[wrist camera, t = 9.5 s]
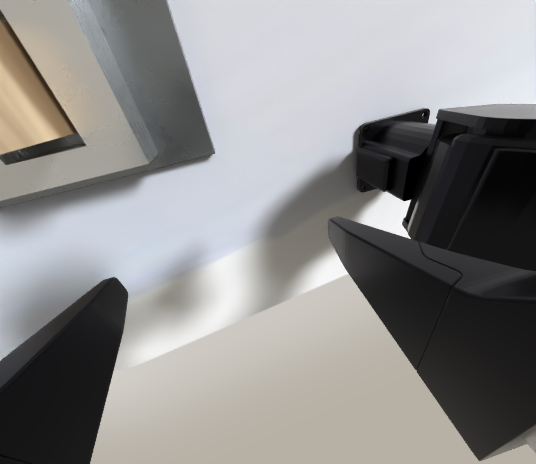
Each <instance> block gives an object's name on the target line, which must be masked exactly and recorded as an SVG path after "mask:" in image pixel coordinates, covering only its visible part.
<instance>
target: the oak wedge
mask: <svg viewBox="0 0 536 464" xmlns="http://www.w3.org/2000/svg"><path fill="white" fill-rule="evenodd" d="M75 133H78V132H77V130H76V128H75V127H74V125H73V124H72V122H71V121H70V119H69V117H68V116H67V114H66V113H65V111H64V109H63V108H62V106H61V105H60V103H59V102H58V100H57V98H56V97H55V95H54V94H53V92H52V90H51V89H50V87H49V86H48V84H47V83H46V81H45V79H44V78H43V76H42V75H41V73H40V71H39V70H38V68H37V67H36V65H35V64H34V62H33V60H32V59H31V57H30V56H29V54H28V52H27V51H26V49H25V48H24V46H23V45H22V43H21V41H20V40H19V38H18V37H17V35H16V33H15V32H14V30H13V29H12V27H11V26H10V24H9V23H7V22H4V21H2V20H0V155H1V154H4V153H8V152H11V151H15V150H18V149H22V148H25V147H29V146H32V145H36V144H39V143H43V142H46V141H50V140H54V139H57V138H61V137H64V136H68V135H71V134H75Z"/></svg>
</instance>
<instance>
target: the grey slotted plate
mask: <svg viewBox="0 0 536 464" xmlns="http://www.w3.org/2000/svg"><path fill="white" fill-rule="evenodd" d="M0 20H2V21H4V22H7V23H9V24H10V26H11V27H12V29H13V30H14V32H15V33H16V35H17V37H18V38H19V40H20V41H21V43H22V45H23V46H24V48H25V49H26V51H27V52H28V54H29V56H30V57H31V59H32V60H33V62H34V64H35V65H36V67H37V68H38V70H39V71H40V73H41V75H42V76H43V78H44V79H45V81H46V83H47V84H48V86H49V87H50V89H51V90H52V92H53V94H54V95H55V97H56V98H57V100H58V102H59V103H60V105H61V106H62V108H63V109H64V111H65V113H66V114H67V116H68V117H69V119H70V121H71V122H72V124H73V125H74V127H75V128H76V130H77V132H78V133H75V134H71V135H68V136H64V137H61V138H57V139H54V140H50V141H46V142H43V143H39V144H36V145H32V146H29V147H25V148H22V149H18V150H15V151H11V152H8V153H4V154H1V155H0V208H1V207H5V206H9V205H13V204H17V203H21V202H25V201H29V200H33V199H37V198H41V197H45V196H49V195H53V194H57V193H61V192H65V191H69V190H72V189H76V188H80V187H84V186H88V185H92V184H96V183H100V182H104V181H108V180H112V179H116V178H120V177H124V176H128V175H132V174H136V173H140V172H144V171H148V170H152V169H156V168H160V167H164V166H168V165H172V164H176V163H180V162H184V161H188V160H192V159H195V158H199V157H203V156H207V155H211V154H215V149H214V146H213V143H212V140H211V137H210V134H209V130H208V127H207V124H206V121H205V118H204V115H203V112H202V108H201V105H200V102H199V99H198V96H197V93H196V90H195V86H194V83H193V80H192V77H191V74H190V71H189V68H188V64H187V61H186V58H185V55H184V52H183V49H182V46H181V42H180V39H179V36H178V33H177V30H176V27H175V24H174V20H173V17H172V14H171V11H170V8H169V5H168V2H167V0H0Z"/></svg>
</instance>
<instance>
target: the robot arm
mask: <svg viewBox="0 0 536 464" xmlns="http://www.w3.org/2000/svg"><path fill="white" fill-rule="evenodd" d="M423 113H424V115H423V116H422V114H423ZM429 115H430V110H429V109H425V108H422V109H418V110H414V111H410V112H406V113H402V114H398V115H395V116H391V117H387V118H383V119H379V120H375V121H371V122H367V123H364V124H363V125H362V126H361V127H360V134H359V150H358V156H357V177H358V182H357V189H358V190H359V191H360V192H366V191H369V190H373V189H377V188H378V189H379V190H381V191H383V192H386V191H387V192H388V193H390V194H392V195H394V196H396V197H397V198H399V199H401V200H403V201H407V200H411V202H410V205H409V208H408V211H407V214H406V218H404V219H403V222H402V225H403V226H404V228H405V229H406V231H407V232H408V235H409V236H410V238H411V239H409V238H405V237H402V236H399V235H396V234H392V233H389V232H386V231H383V230H380V229H376V228H373V227H370V226H367V225H364V224H360V223H357V222H354V221H351V220H347V219H344V218H341V217H334V218H331V219H329V221H328V233H329V239H330V241H331V243H332V245H333V247H334V249H335V250H336V252H337V254H338V256H339V258H340V260H341V262H342V264H343V265H344V267H345V269H346V270H347V272H348V273H349V275H350V276H351V277H352V279H353V280H354V282H355V283H356V285H357V286H358V288H359V289H360V291H361V292H362V293H363V295H364V296H365V298H366V299H367V301H368V302H369V303H370V305H371V306H372V308H373V309H374V311H375V312H376V314H377V315H378V316H379V318H380V319H381V321H382V322H383V323H384V325H385V327H386V328H387V329H388V331H389V332H390V334H391V335H392V337H393V338H394V339H395V341H396V342H397V344H398V345H399V347H400V348H401V350H402V351H403V352H404V354H405V355H406V357H407V358H408V360H409V361H410V363H411V364H412V365H413V367H414V368H415V370H417V373H418V374H419V376H420V377H421V379H422V380H423V381H424V383H425V384H426V386H427V387H428V389H429V390H430V392H431V393H432V394H433V396H434V397H435V399H436V400H437V402H438V403H439V404H440V406H441V407H442V409H443V410H444V412H445V413H446V415H447V416H448V418H449V419H450V420H451V422H452V423H453V425H454V426H455V428H456V429H457V431H458V432H459V433H460V435H461V436H462V437H463V439H464V441H465V442H466V443H467V445H468V446H469V448H470V449H471V451H472V452H473V453H474V455H475V456H476V457H477V459H478V460H479V461H481V460H485V459H487V458H490V457H493V456H495V455H498V454H501V453H503V452H506V451H509V450H512V449H515V448H517V447H520V446H523V445H525V444H528V445H529V446H530V447H531V448H532V449H533V450H534V452H535V453H536V104H492V105H481V106H470V107H458V108H447V109H439V111H438V114H437V117H436V119H438V120H437V123H436V125H435V124H428V120H429ZM366 127H367V128H368V129H367V131H366V132H365V128H366ZM362 186H364V187H363V188H362ZM127 302H128V292H127V290H126V289H125V287H124V286H123V285H122V284H121V282H120V281H119V280H118V279H117V278H115V277H112V278H108V279H105V280H103V281H101V282H100V283H99V284H97V285H96V286H95V287H94V288H92V289H91V290H90V291H89V292H87V293H86V294H85V295H83V296H82V297H81V298H80V299H78V300H77V301H76V302H75V303H73V304H72V305H71V306H69V307H68V308H67V309H66V310H64V311H63V312H62V313H61V314H59V315H58V316H57V317H55V318H54V319H53V320H52V321H50V322H49V323H48V324H47V325H45V326H44V327H43V328H41V329H40V330H39V331H38V332H36V333H35V334H34V335H33V336H31V337H30V338H29V339H27V340H26V341H25V342H24V343H22V344H21V345H20V346H19V347H17V348H16V349H15V350H13V351H12V352H11V353H10V354H8V355H7V356H6V357H5V358H3V359H2V360H1V361H0V464H90V461H91V457H92V453H93V449H94V445H95V441H96V437H97V433H98V429H99V426H100V422H101V418H102V414H103V410H104V406H105V402H106V398H107V394H108V390H109V386H110V382H111V378H112V374H113V370H114V366H115V362H116V358H117V355H118V351H119V347H120V343H121V339H122V334H123V330H124V324H125V316H126V309H127Z"/></svg>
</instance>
